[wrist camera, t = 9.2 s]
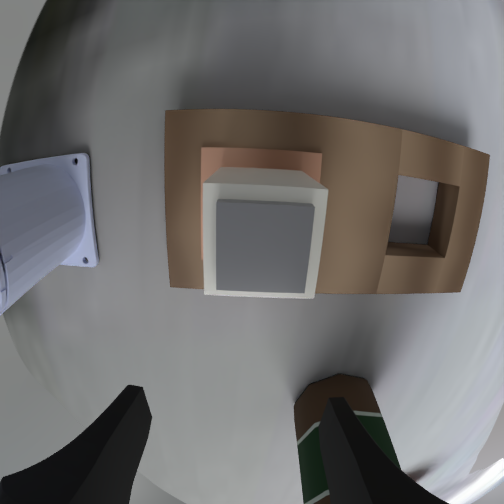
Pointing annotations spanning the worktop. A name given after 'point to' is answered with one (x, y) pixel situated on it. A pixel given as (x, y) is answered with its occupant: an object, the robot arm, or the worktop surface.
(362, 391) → the beer bottle
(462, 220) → the brown wooden flat block
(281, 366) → the worktop surface
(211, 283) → the plug
